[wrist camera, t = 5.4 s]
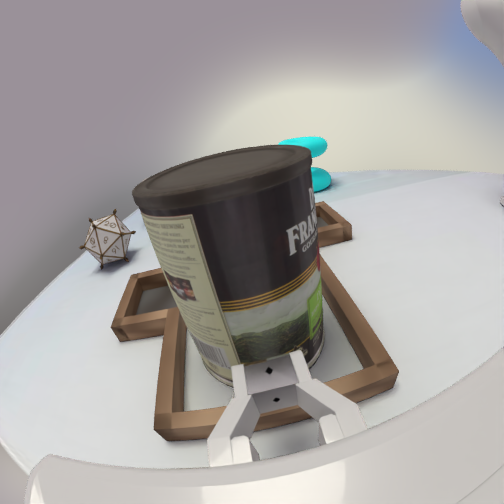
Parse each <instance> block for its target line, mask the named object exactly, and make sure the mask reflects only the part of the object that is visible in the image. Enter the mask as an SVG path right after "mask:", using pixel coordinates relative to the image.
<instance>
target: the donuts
mask: <svg viewBox="0 0 504 504" xmlns="http://www.w3.org/2000/svg"><path fill="white" fill-rule="evenodd" d="M278 145H298V146H302V147H306V148H308V149H310V151H311V155H312V158H314V157H317V156H319V155H321V154H323V153H324V152H325V151H326V149H327V142H326V141H325V140H324V139H323V138H321V137H300V138H293V139H288V140H284V141H282V142H280V143H279V144H278ZM311 172H312V181H313V189H314V192H317V191H320V190H323V189H325V188H326V187H328V186H329V185H330V183H331V176H330V174H329V173H328V172H327V171H325V170H323V169H321V168H315V167H311Z"/></svg>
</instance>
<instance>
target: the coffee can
mask: <svg viewBox="0 0 504 504" xmlns="http://www.w3.org/2000/svg"><path fill="white" fill-rule="evenodd" d="M311 164H312V155H311V151H310V149H308V148H306V147H302V146H298V145H266V146H258V147H248V148H242V149H236V150H231V151H226V152H222V153H218V154H213V155H210V156H205V157H202V158H199V159H195V160H192V161H188V162H185V163H182V164H179V165H177V166H174V167H171V168H169V169H166V170H164V171H162V172H160V173H157V174H155V175H153V176H151V177H149V178H147V179H145V180H144V181H143V182H141V183H140V184H139V185H137V186H136V187H135V188H134V190H133V191H132V195H133V198H134V201H135V203H136V205H137V206H139V209H140V211H141V214H142V217H143V220H144V223H145V226H146V229H147V232H148V235H149V237H150V240H151V243H152V245H153V248H154V250H155V253H156V256H157V258H158V261H159V263H160V266H161V268H162V271H163V273H164V276H165V278H166V281H167V283H168V286H169V288H170V291H171V293H172V295H173V297H174V300H175V302H176V304H177V306H178V309H179V311H180V313H181V315H182V317H183V320H184V322H185V324H186V326H187V328H188V330H189V332H190V334H191V337H192V339H193V341H194V343H195V345H196V347H197V349H198V351H199V353H200V355H201V357H202V360H203V363H204V365H205V367H206V369H207V370H208V371H209V372H210V373H211V374H212V375H213V376H214V377H215V378H217V379H218V380H220V381H221V382H223V383H225V384H227V385H229V386H232V387H233V379H232V371H231V368H232V366H235V365H240V364H245V363H250V362H255V361H260V360H265V359H267V358H271V357H275V356H278V355H282V354H286V353H291V352H294V351H298V350H301V351H302V353H303V356H304V358H305V361H306V364H307V366H308V369H309V368H310V367H311V366H312V365H313V364H314V362H315V361H316V359H317V358H318V356H319V355H320V352H321V350H322V347H323V343H324V329H323V309H322V286H321V271H320V254H319V241H318V229H317V217H316V207H315V197H314V189H313V181H312V172H311Z"/></svg>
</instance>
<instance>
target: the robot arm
mask: <svg viewBox="0 0 504 504" xmlns="http://www.w3.org/2000/svg"><path fill="white" fill-rule="evenodd" d="M461 12H462V16H463V19H464V21H465V23H466V25H467V26H468V28H469V30H470V31H471V32H472V34H473V35H474V36H475V37H476V38H477V39H478V40H479V41H480V42H482V43H483V44H484V45H485V46H487V47H488V48H489V49H490V50H491V51H492V52H493V53H494V54H495V56H496V57H497V58H498V59H499V61H500V62H501V63H502V65H503V67H504V0H461ZM500 203H501V204H502V205H503V206H504V196H502V197H501V199H500ZM231 371H232V379H233V387H234V395H235V398H231V400H230V402H229V404H228V405H227V407H226V409H225V411H224V412H223V414H222V416H221V417H220V419H219V421H218V422H217V424H216V426H215V428H214V429H213V431H212V433H211V434H210V436H209V438H208V439H207V445H208V459H209V467H202V468H180V469H157V468H135V467H122V466H113V465H105V464H98V463H91V462H85V461H80V460H75V459H70V458H65V457H61V456H57V455H53V454H49V455H47V456H45V457H44V458H43V459H42V460H41V461H40V462H39V463H38V464H37V465H36V466H35V467H34V468H33V469H32V470H31V472H30V475H29V477H28V481H27V485H26V490H25V496H24V504H504V347H503V348H501V349H500V350H499V351H498V352H497V353H496V354H494V355H493V356H492V357H491V358H489V359H488V360H487V361H486V362H484V363H483V364H482V365H480V366H479V367H478V368H476V369H475V370H474V371H472V372H471V373H469V374H468V375H467V376H465V377H464V378H462V379H461V380H459V381H458V382H456V383H455V384H453V385H452V386H450V387H449V388H447V389H445V390H444V391H442V392H440V393H439V394H437V395H435V396H434V397H432V398H430V399H429V400H427V401H425V402H423V403H421V404H420V405H418V406H416V407H414V408H412V409H410V410H408V411H406V412H404V413H402V414H400V415H398V416H396V417H394V418H392V419H390V420H388V421H385V422H383V423H381V424H379V425H376V426H374V427H372V428H369V429H368V428H367V426H366V423H365V421H364V419H363V417H362V414H361V412H360V410H359V408H358V405H357V404H356V403H354V402H352V401H351V400H349V399H348V398H346V397H344V396H343V395H341V394H339V393H338V392H336V391H335V390H333V389H331V388H330V387H328V386H327V385H325V384H324V383H322V382H321V381H319V380H317V379H316V378H315V379H312V377H311V374H310V372H309V369H308V366H307V364H306V361H305V358H304V356H303V353H302V351H301V350H298V351H294V352H291V353H286V354H282V355H278V356H275V357H271V358H267V359H265V360H260V361H255V362H250V363H245V364H240V365H235V366H232V368H231ZM295 405H298V406H299V407H301V408H302V409H303V410H304V411H305V412H307V413H308V414H309V415H310V416H312V417H313V418H314V419H315V420H317V421H318V422H319V435H318V441H319V444H320V446H318V447H315V448H311V449H308V450H304V451H300V452H296V453H292V454H288V455H284V456H279V457H275V458H270V459H265V460H260V457H259V454H258V452H257V451H256V449H255V448H254V446H253V444H252V443H251V441H250V438H251V436H252V433H253V431H254V429H255V426H256V424H257V422H258V419H259V417H260V414H262V413H266V412H270V411H274V410H278V409H282V408H287V407H291V406H295Z"/></svg>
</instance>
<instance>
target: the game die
mask: <svg viewBox="0 0 504 504" xmlns="http://www.w3.org/2000/svg"><path fill="white" fill-rule="evenodd" d="M115 214H116V209H115V210H114V211H113V214H112V215H109V216H107V217H103V218H101V219H98V220H95V221H92V219H90V218H89V221H90V222H91V225H90V228H89V231H88V235H87V238H86V241H85V244H84V246H80V249H83V248H86V249H87V250H88V251H89V252H90V253H91V254H92V255H93V256H94V257H95V258H96V259H97V260H98V261H99V262H100V263H101V266H100V267H101V269H102V268H103V264H106V263H110V262H113V261H117V260H120V259H125V261H127V262H129V261H128V259H127V258H126V252H127V248H128V244H129V241H130V237H131V234H135V232H136V231H132V232H130V231H129V230H128V229H127V227H126V226H125V225H124V224H123V223H122V222H121V221H120V220H119V219H118V217H117V216H116V215H115Z"/></svg>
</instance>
